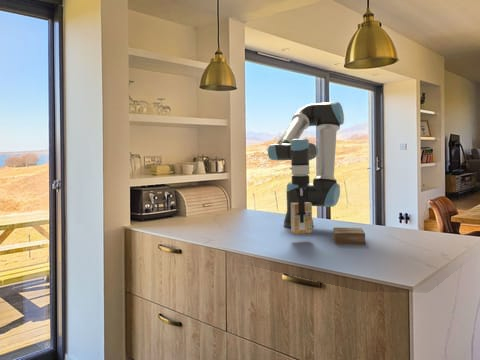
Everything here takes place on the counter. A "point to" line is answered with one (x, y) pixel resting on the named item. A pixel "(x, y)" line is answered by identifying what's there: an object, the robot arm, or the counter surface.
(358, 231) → the block
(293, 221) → the supplement box
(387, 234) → the counter surface
